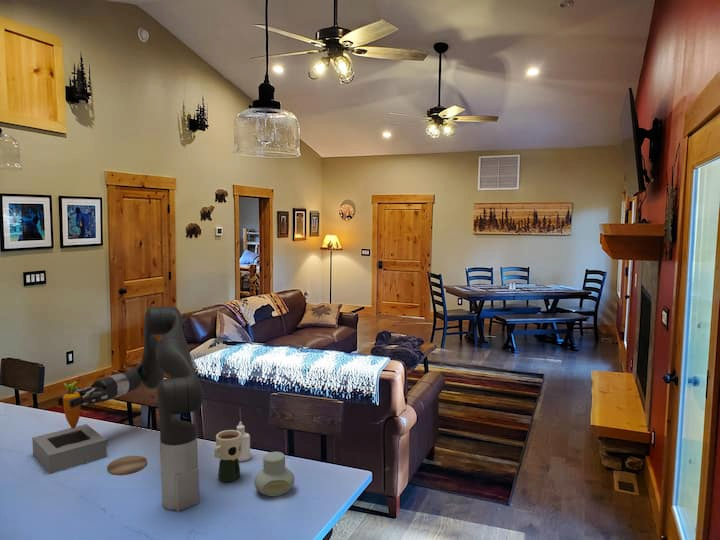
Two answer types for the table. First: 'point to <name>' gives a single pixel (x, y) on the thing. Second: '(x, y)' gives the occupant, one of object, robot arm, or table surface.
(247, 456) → the eye dropper bottle
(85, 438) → the box
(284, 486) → the air freshener
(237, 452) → the character mug
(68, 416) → the carrot
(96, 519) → the table surface
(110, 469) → the walnut pad
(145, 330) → the robot arm
